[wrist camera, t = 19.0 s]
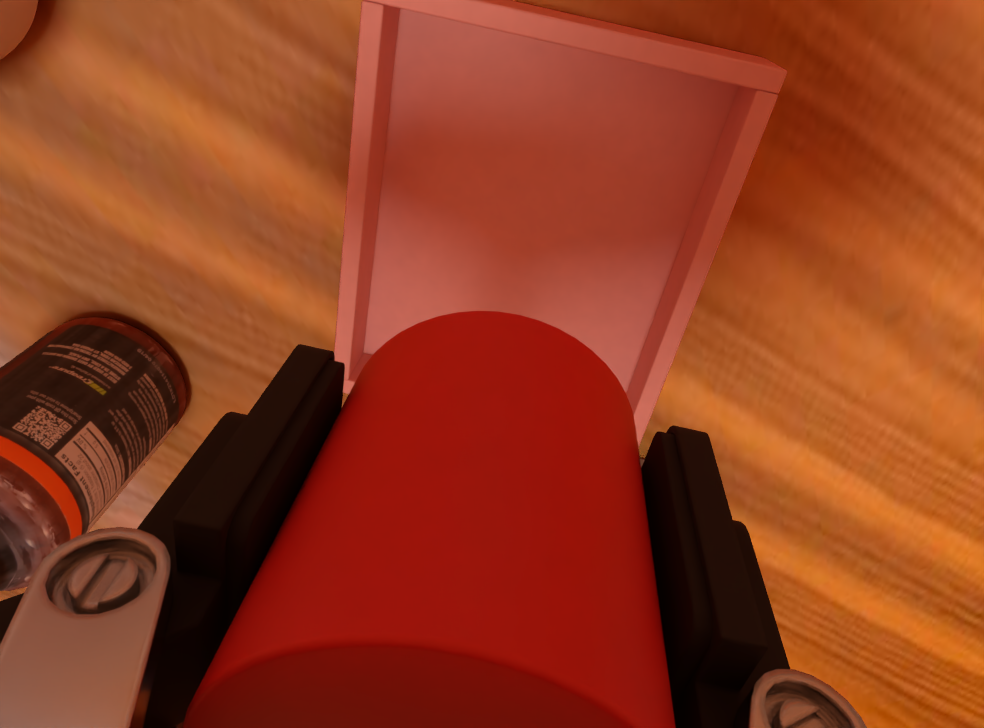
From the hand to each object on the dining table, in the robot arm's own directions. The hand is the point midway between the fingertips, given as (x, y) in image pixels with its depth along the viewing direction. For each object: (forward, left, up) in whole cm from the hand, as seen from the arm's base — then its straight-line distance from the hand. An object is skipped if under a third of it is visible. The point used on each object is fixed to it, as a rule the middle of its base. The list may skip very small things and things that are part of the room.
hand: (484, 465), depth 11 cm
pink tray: (+1, 0, -13) cm, 13 cm away
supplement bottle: (+11, -15, -14) cm, 23 cm away
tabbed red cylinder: (+1, 0, -1) cm, 1 cm away
